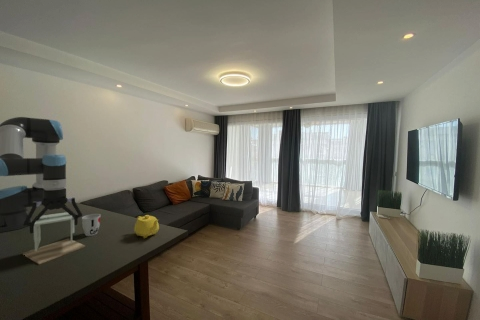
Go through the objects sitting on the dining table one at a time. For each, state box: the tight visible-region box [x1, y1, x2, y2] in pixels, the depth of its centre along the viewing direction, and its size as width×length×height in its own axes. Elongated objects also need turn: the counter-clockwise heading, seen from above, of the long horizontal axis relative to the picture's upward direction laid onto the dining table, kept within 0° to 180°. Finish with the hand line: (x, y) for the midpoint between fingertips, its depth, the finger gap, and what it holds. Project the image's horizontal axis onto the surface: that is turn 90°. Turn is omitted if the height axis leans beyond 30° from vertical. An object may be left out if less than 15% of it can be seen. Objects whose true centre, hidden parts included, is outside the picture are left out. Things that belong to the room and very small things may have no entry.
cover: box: [34, 211, 73, 251], centre depth 85 cm, size 12×12×12 cm
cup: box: [81, 213, 101, 237], centre depth 103 cm, size 8×8×10 cm
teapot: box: [133, 214, 160, 239], centre depth 105 cm, size 18×11×11 cm, turn 60°
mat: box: [22, 237, 86, 265], centre depth 86 cm, size 16×16×1 cm
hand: (55, 235), depth 86 cm, fingers closed on cover, 12 cm apart
